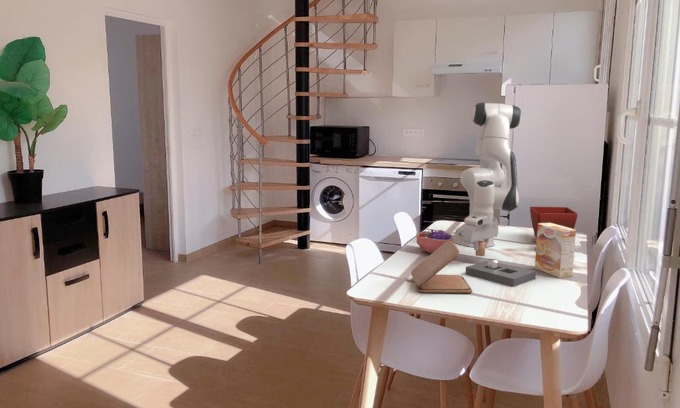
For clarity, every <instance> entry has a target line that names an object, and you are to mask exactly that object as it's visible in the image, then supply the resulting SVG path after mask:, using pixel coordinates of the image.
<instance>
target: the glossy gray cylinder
mask: <svg viewBox="0 0 680 408" xmlns="http://www.w3.org/2000/svg"><path fill="white" fill-rule="evenodd" d="M487 260H488V268H489V269H493V270H496V269H498V263H499V259H496V258H489V259H487Z"/></svg>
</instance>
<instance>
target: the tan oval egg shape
mask: <svg viewBox="0 0 680 408" xmlns="http://www.w3.org/2000/svg"><path fill="white" fill-rule="evenodd" d="M485 244H486V242H485V241H478V246H479V250H477V251H476V250H474V251H475V256H476V257H485V255H486V248H485Z"/></svg>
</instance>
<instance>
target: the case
mask: <svg viewBox="0 0 680 408" xmlns="http://www.w3.org/2000/svg"><path fill="white" fill-rule="evenodd" d="M459 254H460V250H459V249H458V247H457V245H456V244H454V242H453V243H452V242H451V241H447V242H445V243H444V244H443V245H442V246H440V247H439V248H438V249H437V250H436V251H434V252H433V253H430V255H428V256H427V257H426V258H425V259H424V260H423V261H422V262H420V263H419V264H417V265H416V267H414V268H413V269H412V271H411V273H410V275H411V276H412V280H413V283H414V286H415V287H416V290H417V292H418V293H424V294H429V293H432V294H433V293H434V294H435V293H436V294H441V293H442V294H470V293H471V294H472V293H473V289H472V288H471V286H470V285H469V283H468V281H467V280H466V279H465V277H463V276H462V275H459V274H437V273H439V272H440V271H442V270H443V269H444V268H445V267H446V266H448V265H449V264H450V263H451V262H453V261H454V260H455V259H456V258H457V257H458V256H459Z"/></svg>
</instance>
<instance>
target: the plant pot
mask: <svg viewBox="0 0 680 408" xmlns="http://www.w3.org/2000/svg"><path fill="white" fill-rule="evenodd" d="M529 213H530V219H531V225H532V230H533V232H534V233H533V234H534V237H535V240H537V227H538V223H553V224H557V225H561V226H564V227H568V228H571V229H575V227H576V223H577V220H578V213H577V212H576V211H574V210H573V209H571V208H570V207H566V206H529Z"/></svg>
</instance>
